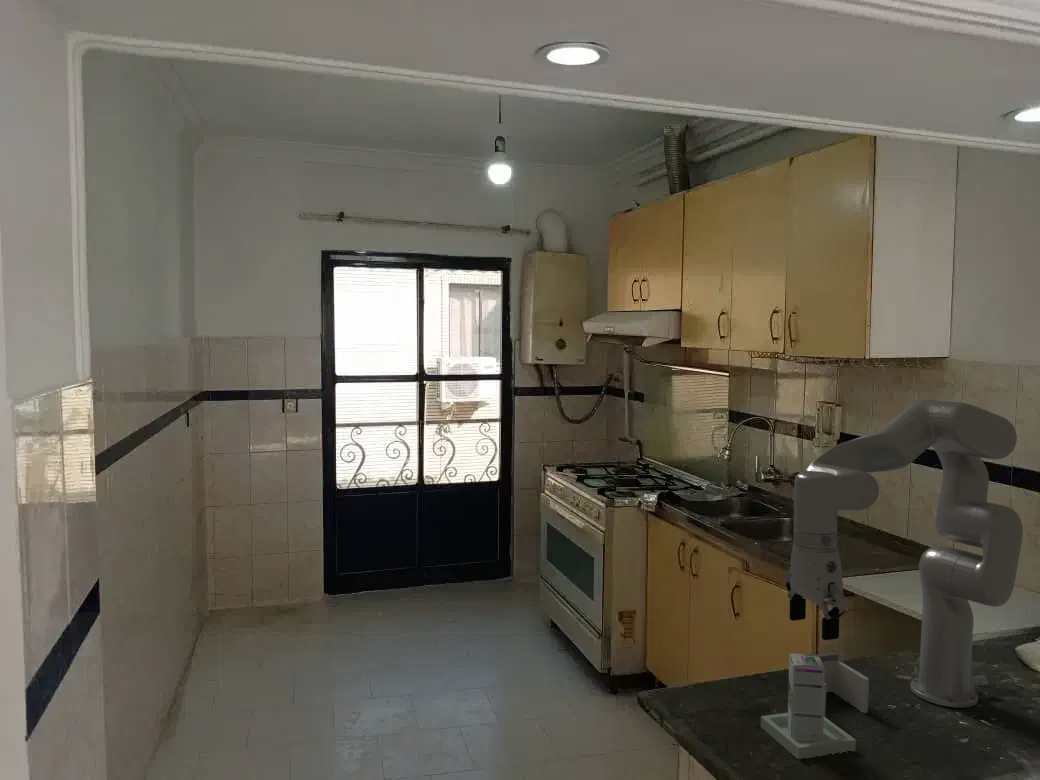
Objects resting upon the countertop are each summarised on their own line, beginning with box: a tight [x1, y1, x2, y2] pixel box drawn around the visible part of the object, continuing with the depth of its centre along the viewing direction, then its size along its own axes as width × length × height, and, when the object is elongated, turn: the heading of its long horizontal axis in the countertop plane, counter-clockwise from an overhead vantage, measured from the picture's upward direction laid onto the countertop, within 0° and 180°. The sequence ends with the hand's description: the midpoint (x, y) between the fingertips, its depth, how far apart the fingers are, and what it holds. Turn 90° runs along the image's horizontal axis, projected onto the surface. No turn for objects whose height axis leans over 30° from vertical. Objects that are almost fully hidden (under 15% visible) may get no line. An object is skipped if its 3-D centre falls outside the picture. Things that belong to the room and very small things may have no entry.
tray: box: [759, 712, 857, 760], centre depth 145 cm, size 12×12×2 cm
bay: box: [815, 652, 870, 718], centre depth 159 cm, size 11×10×8 cm
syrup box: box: [787, 653, 825, 742], centre depth 145 cm, size 6×6×14 cm
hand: (813, 628), depth 144 cm, fingers open, 9 cm apart
